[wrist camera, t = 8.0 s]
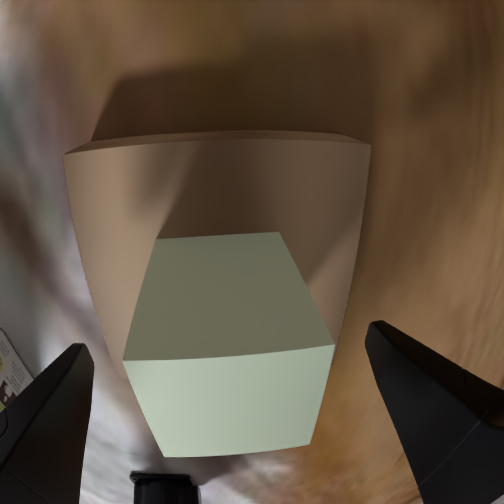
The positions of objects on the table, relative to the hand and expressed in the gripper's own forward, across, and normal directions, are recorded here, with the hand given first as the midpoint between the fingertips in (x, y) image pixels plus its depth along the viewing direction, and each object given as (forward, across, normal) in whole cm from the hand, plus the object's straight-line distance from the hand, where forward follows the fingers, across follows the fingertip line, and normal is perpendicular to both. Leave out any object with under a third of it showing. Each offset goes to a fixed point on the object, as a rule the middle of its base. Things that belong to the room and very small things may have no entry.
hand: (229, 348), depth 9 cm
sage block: (+4, 0, 0) cm, 4 cm away
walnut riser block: (+7, 0, 0) cm, 7 cm away
